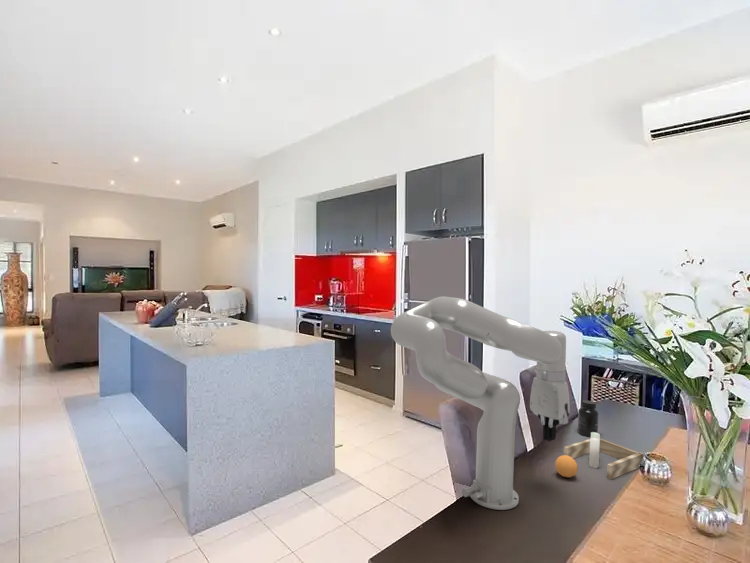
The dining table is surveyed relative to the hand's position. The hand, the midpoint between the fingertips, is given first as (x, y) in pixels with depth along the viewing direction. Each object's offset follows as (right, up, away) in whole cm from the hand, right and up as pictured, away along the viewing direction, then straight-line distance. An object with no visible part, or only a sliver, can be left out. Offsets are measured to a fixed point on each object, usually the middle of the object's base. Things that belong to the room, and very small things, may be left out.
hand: (549, 439), depth 119 cm
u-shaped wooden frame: (+23, -13, +15) cm, 30 cm away
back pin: (+21, -13, +17) cm, 30 cm away
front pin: (+19, -13, +12) cm, 26 cm away
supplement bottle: (+31, -13, +39) cm, 51 cm away
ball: (+7, -10, +5) cm, 13 cm away
